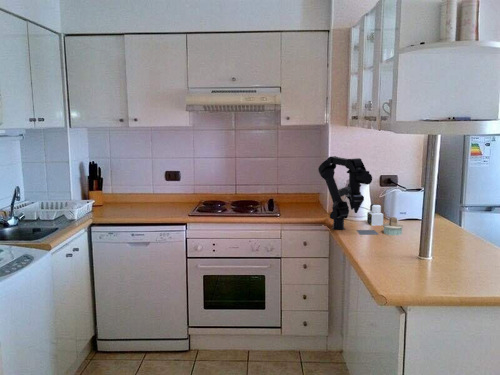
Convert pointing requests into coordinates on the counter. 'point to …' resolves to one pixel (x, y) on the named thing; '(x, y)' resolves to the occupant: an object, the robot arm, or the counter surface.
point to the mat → (367, 232)
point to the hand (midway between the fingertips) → (353, 211)
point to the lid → (393, 224)
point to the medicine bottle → (375, 215)
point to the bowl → (392, 231)
